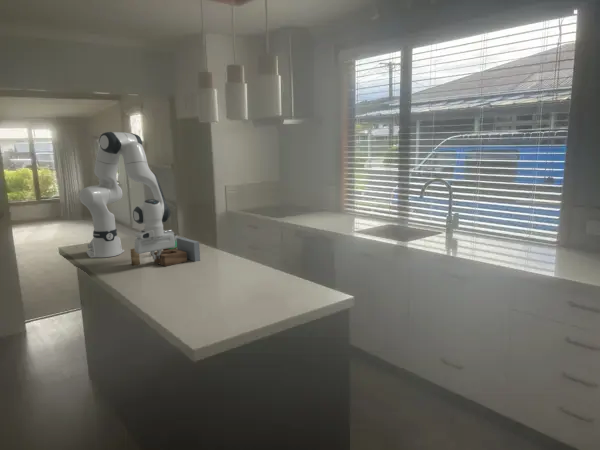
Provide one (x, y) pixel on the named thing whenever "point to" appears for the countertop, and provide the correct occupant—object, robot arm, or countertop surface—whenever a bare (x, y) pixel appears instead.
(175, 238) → the green rounded container
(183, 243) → the wall
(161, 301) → the countertop surface
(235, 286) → the countertop surface
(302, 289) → the countertop surface
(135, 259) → the dowel
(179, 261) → the block
